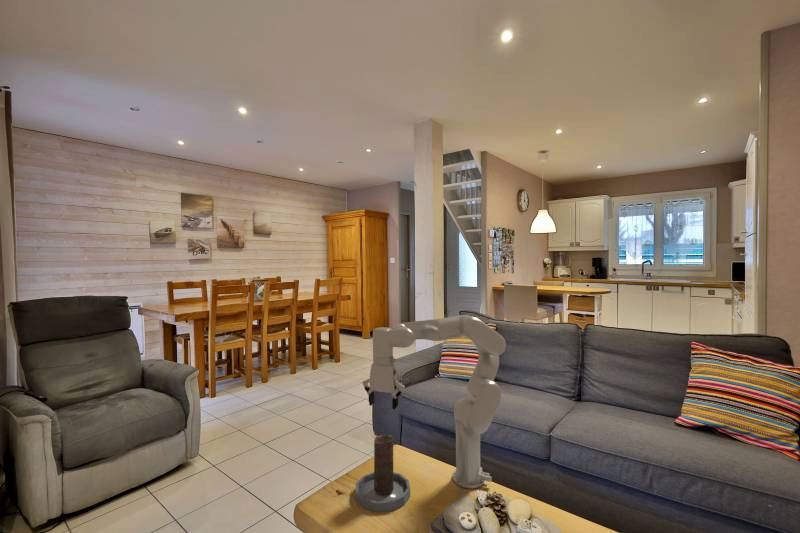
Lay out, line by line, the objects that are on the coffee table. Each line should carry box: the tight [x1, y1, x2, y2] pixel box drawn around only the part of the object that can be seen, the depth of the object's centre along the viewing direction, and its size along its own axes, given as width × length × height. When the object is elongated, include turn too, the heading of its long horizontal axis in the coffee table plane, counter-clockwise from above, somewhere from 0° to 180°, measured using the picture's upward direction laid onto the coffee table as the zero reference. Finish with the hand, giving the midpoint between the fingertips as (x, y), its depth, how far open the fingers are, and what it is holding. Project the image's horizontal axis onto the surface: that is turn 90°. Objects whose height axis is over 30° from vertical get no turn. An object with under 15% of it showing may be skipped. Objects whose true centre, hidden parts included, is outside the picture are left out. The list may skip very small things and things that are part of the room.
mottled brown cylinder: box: [373, 434, 394, 494], centre depth 135 cm, size 8×7×20 cm
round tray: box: [355, 471, 411, 513], centre depth 135 cm, size 20×20×3 cm
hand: (383, 406), depth 136 cm, fingers open, 9 cm apart
